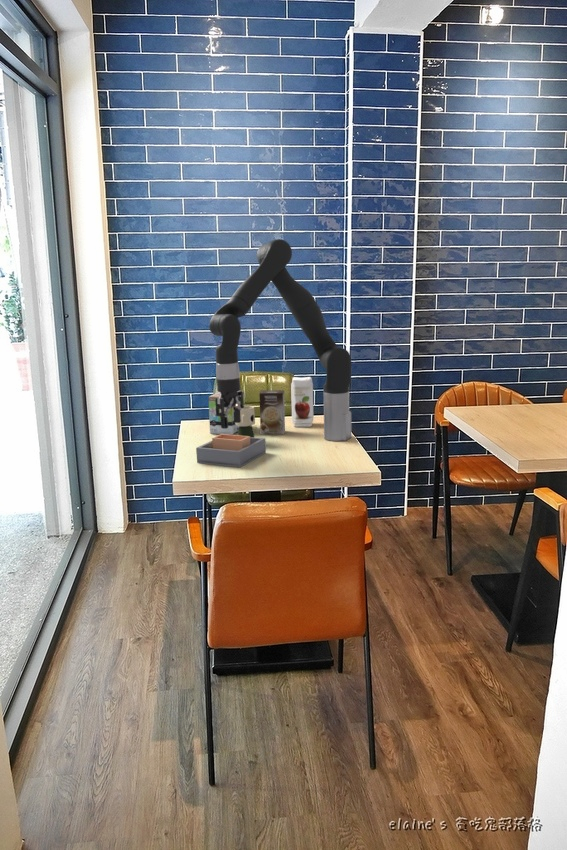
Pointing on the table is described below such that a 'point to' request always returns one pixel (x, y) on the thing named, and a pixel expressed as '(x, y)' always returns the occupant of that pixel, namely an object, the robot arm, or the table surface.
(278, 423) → the coffee box
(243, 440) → the terracotta crate
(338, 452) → the table surface
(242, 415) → the character mug
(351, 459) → the table surface
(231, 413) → the tea box
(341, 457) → the table surface
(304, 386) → the juice carton
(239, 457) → the charcoal crate
